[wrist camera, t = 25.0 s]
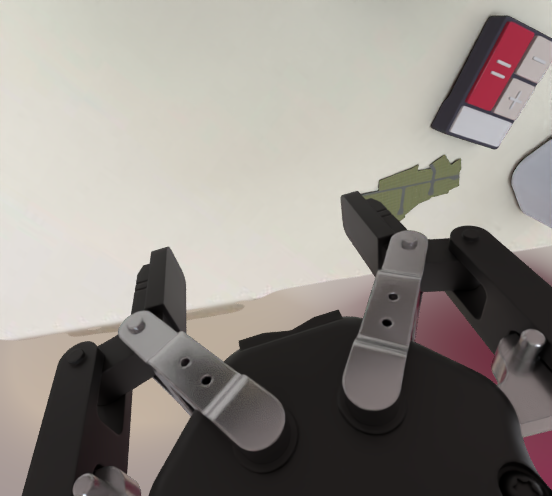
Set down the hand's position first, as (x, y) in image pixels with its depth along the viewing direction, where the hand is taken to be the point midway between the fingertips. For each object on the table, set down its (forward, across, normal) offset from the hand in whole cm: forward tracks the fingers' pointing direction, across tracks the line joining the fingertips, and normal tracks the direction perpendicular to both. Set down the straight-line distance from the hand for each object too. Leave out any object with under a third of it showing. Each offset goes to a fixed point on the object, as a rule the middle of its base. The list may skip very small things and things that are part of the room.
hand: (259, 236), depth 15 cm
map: (+34, -28, +25) cm, 51 cm away
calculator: (+34, -39, +10) cm, 53 cm away
